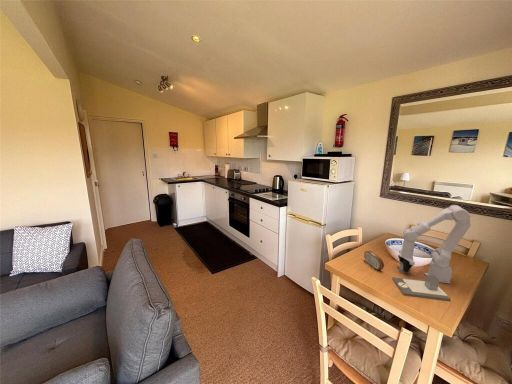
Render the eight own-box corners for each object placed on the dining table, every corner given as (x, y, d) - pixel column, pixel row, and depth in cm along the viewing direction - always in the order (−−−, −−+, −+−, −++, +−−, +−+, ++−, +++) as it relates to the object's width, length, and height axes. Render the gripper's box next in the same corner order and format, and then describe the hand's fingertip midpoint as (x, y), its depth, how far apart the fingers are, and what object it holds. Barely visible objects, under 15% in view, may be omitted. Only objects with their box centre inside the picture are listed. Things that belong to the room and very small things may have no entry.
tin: (383, 272, 130) (385, 259, 129) (378, 272, 130) (380, 260, 128) (366, 259, 145) (368, 248, 143) (362, 260, 144) (364, 248, 143)
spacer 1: (405, 270, 133) (407, 261, 132) (409, 273, 129) (410, 264, 128) (398, 269, 134) (400, 260, 132) (401, 273, 130) (403, 264, 129)
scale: (433, 283, 120) (433, 280, 119) (450, 301, 106) (450, 297, 106) (392, 279, 124) (392, 276, 123) (403, 295, 110) (404, 292, 110)
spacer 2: (432, 285, 115) (434, 275, 114) (437, 290, 111) (439, 280, 110) (424, 284, 116) (426, 274, 115) (428, 289, 112) (430, 279, 111)
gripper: (395, 243, 136) (392, 262, 139) (406, 254, 122) (402, 275, 125) (407, 244, 135) (404, 263, 137) (420, 255, 121) (416, 276, 124)
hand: (404, 269), depth 131 cm, fingers open, 4 cm apart
